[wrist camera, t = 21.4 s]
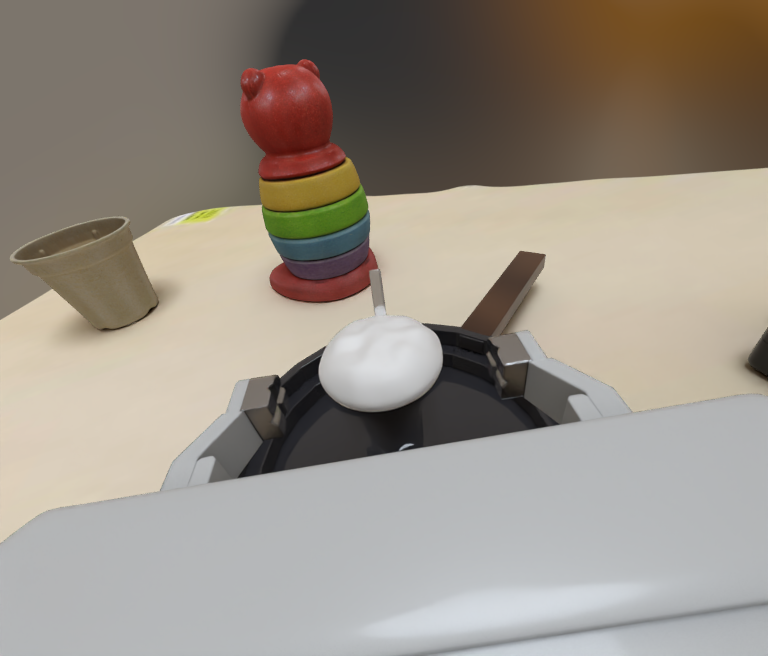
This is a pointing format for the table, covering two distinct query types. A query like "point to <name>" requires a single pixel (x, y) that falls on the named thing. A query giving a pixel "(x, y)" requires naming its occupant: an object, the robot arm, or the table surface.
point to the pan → (456, 413)
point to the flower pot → (93, 270)
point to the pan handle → (502, 299)
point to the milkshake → (385, 379)
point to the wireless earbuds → (760, 355)
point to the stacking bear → (306, 186)
